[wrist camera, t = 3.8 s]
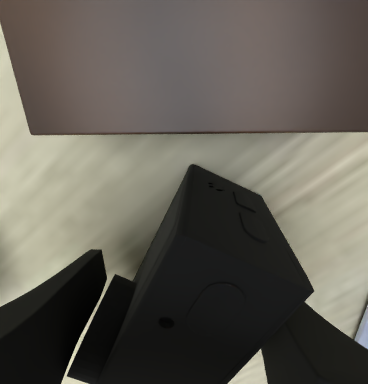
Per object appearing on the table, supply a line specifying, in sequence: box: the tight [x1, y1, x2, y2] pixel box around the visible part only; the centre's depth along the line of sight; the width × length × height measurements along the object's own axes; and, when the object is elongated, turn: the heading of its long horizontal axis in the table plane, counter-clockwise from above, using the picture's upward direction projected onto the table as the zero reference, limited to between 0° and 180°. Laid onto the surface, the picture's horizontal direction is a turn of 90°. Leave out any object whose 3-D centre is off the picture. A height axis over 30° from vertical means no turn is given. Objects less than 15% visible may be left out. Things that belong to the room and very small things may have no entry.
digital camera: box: [67, 164, 314, 384], centre depth 11 cm, size 10×5×7 cm, turn 155°
